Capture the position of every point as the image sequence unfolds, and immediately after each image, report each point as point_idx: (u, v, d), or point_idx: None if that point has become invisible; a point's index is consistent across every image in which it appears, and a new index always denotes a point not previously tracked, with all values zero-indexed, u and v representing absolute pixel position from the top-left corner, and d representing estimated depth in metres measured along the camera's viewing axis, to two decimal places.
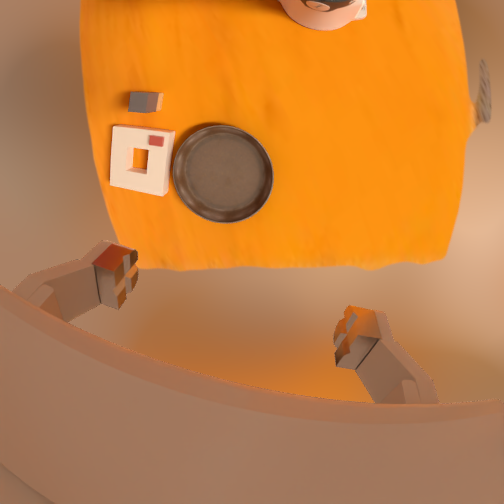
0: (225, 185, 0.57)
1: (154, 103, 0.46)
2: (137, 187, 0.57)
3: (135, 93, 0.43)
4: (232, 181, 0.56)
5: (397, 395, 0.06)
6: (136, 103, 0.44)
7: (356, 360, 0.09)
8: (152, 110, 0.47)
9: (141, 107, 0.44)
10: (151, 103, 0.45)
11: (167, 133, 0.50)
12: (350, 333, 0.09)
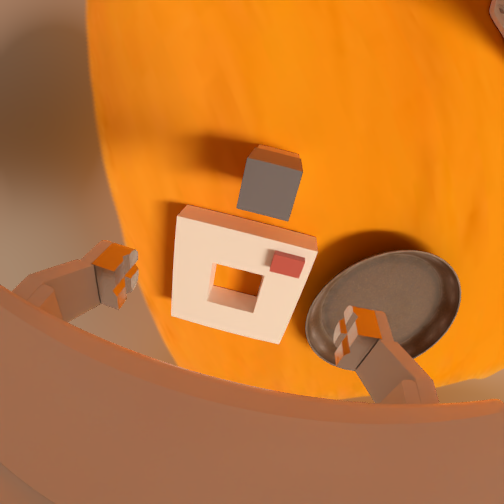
0: None
1: None
2: (230, 328, 0.33)
3: (262, 164, 0.19)
4: (392, 319, 0.33)
5: (397, 395, 0.06)
6: (263, 193, 0.20)
7: (356, 360, 0.09)
8: None
9: (277, 205, 0.20)
10: None
11: (312, 252, 0.26)
12: (350, 333, 0.09)
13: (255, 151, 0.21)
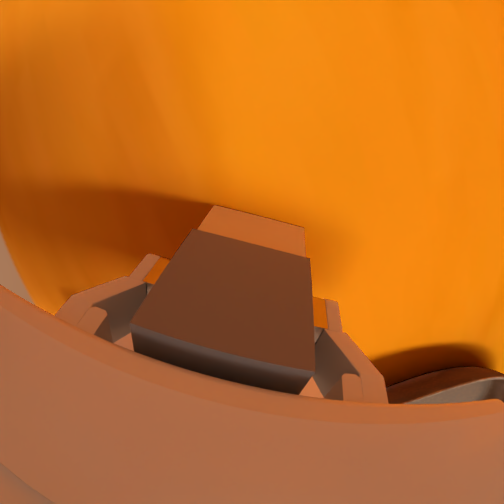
0: None
1: None
2: None
3: (178, 348, 0.05)
4: None
5: (337, 390, 0.06)
6: None
7: None
8: None
9: None
10: None
11: None
12: None
13: (181, 258, 0.08)
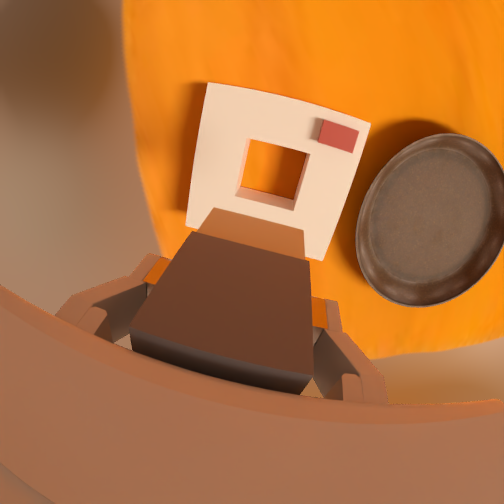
0: (432, 243, 0.27)
1: None
2: None
3: (177, 351, 0.05)
4: (444, 237, 0.26)
5: (337, 390, 0.06)
6: None
7: None
8: None
9: None
10: None
11: (365, 124, 0.20)
12: None
13: (180, 261, 0.08)
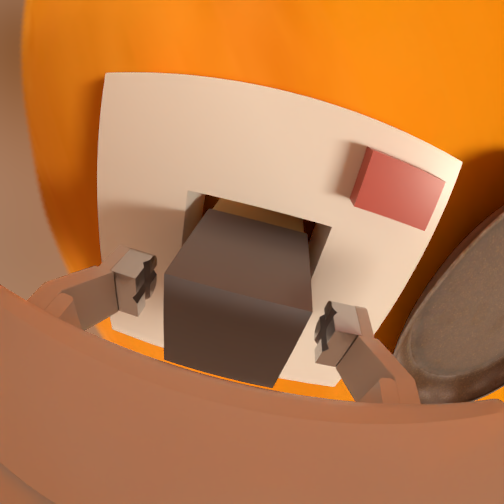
0: (489, 331, 0.15)
1: None
2: None
3: (203, 293, 0.07)
4: None
5: (374, 394, 0.06)
6: (215, 346, 0.08)
7: (335, 357, 0.09)
8: None
9: (249, 366, 0.09)
10: None
11: (453, 162, 0.08)
12: (328, 328, 0.09)
13: (201, 229, 0.09)
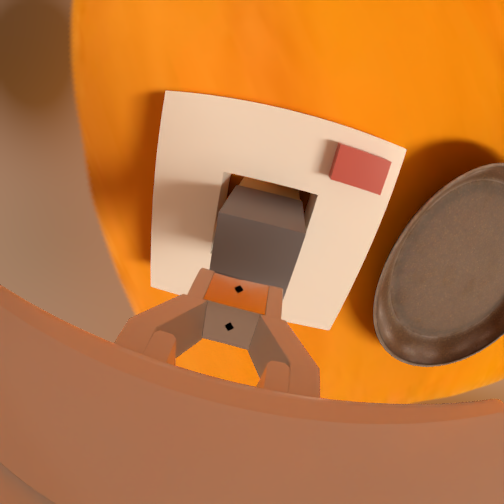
0: (462, 294, 0.20)
1: None
2: None
3: (242, 223, 0.12)
4: (476, 286, 0.20)
5: (263, 378, 0.06)
6: (246, 264, 0.14)
7: (244, 338, 0.09)
8: None
9: (267, 281, 0.14)
10: None
11: (399, 149, 0.13)
12: None
13: (234, 194, 0.15)
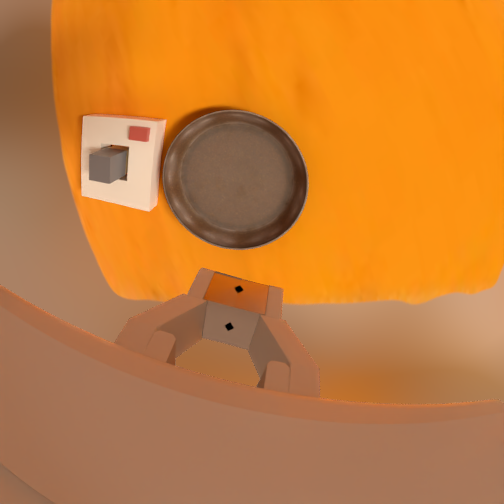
0: (237, 196, 0.41)
1: (121, 166, 0.37)
2: (115, 199, 0.41)
3: (94, 156, 0.33)
4: (247, 191, 0.40)
5: (263, 378, 0.06)
6: (97, 170, 0.34)
7: (244, 338, 0.09)
8: (119, 176, 0.37)
9: (103, 176, 0.34)
10: (117, 169, 0.36)
11: (154, 122, 0.34)
12: None
13: (101, 150, 0.35)
